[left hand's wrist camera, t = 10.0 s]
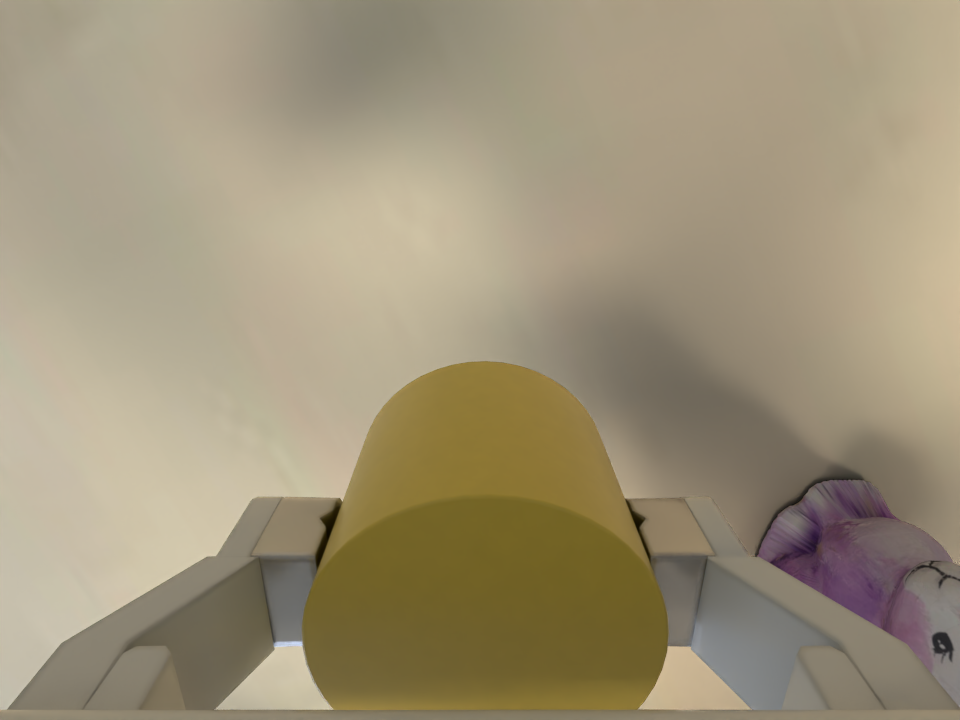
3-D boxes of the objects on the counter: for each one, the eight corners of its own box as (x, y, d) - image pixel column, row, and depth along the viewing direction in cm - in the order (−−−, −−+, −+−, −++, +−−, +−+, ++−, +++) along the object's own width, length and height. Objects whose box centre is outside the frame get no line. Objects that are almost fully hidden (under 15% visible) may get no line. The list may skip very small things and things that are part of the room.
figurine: (840, 438, 32) (1120, 677, 18) (933, 544, 35) (1240, 824, 21) (702, 537, 34) (854, 815, 20) (799, 629, 37) (992, 930, 23)
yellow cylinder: (355, 357, 11) (282, 492, 7) (617, 362, 11) (697, 499, 7) (368, 566, 13) (316, 770, 9) (592, 570, 13) (645, 775, 9)
